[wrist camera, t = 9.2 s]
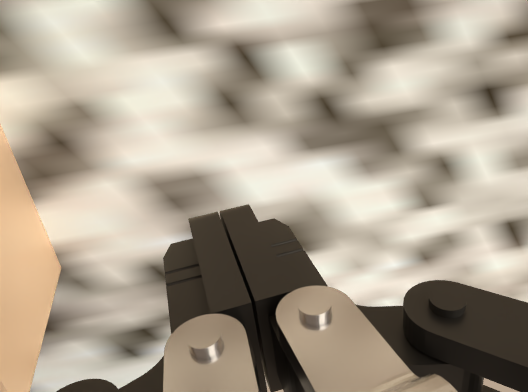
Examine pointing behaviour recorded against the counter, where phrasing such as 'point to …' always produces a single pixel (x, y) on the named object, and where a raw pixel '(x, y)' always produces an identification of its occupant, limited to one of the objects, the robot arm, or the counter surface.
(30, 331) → the tile
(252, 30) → the counter surface
